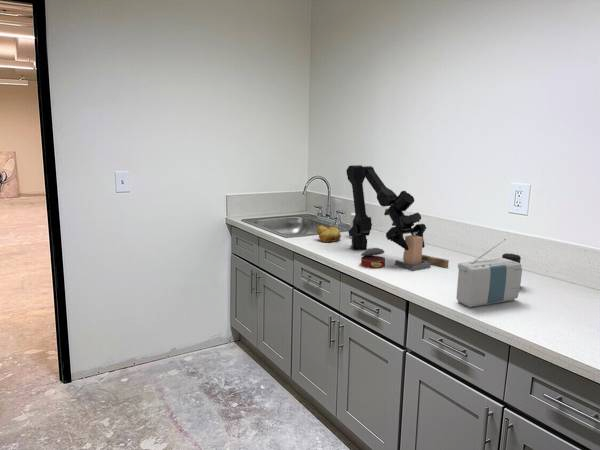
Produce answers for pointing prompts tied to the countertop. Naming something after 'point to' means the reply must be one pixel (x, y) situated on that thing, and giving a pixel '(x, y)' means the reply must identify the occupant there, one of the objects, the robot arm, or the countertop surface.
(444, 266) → the door edge strip
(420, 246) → the salmon pink cylinder
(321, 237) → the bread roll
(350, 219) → the supplement box
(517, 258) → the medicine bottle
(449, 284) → the countertop surface
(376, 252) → the canned food
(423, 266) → the keeper bracket
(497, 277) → the stereo radio cassette player
